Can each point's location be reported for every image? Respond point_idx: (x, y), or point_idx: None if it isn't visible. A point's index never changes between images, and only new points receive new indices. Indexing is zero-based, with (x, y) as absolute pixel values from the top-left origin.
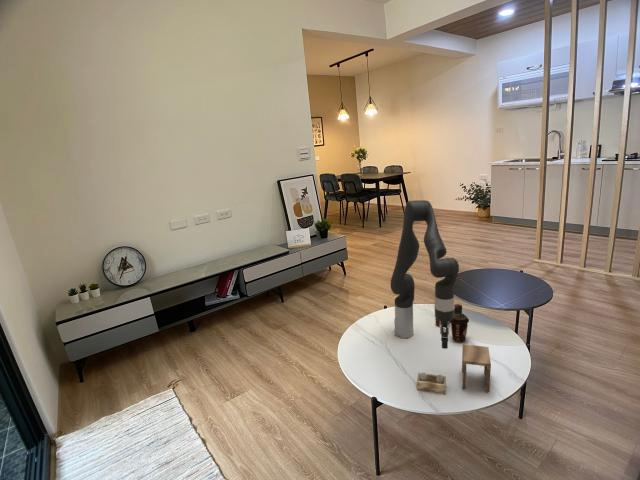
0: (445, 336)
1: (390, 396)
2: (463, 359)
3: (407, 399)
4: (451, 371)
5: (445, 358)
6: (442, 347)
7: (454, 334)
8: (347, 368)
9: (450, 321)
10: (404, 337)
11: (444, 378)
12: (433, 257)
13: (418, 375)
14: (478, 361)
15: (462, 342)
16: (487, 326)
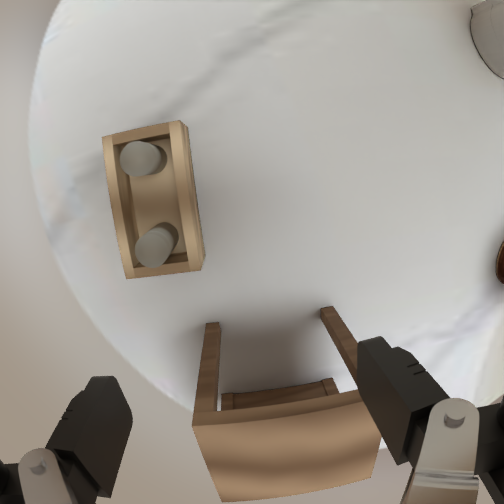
0: (361, 378)
1: (54, 61)
2: (207, 426)
3: (55, 125)
4: (314, 265)
5: (403, 224)
6: (93, 384)
7: None
8: None
9: None
10: (475, 39)
11: (180, 266)
12: None
13: (152, 128)
14: (222, 475)
15: (497, 275)
16: None
